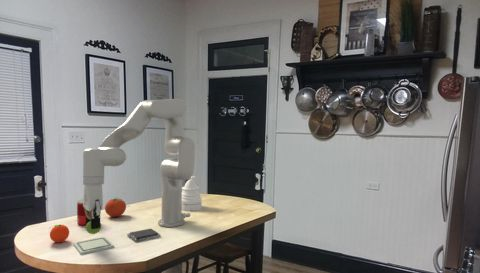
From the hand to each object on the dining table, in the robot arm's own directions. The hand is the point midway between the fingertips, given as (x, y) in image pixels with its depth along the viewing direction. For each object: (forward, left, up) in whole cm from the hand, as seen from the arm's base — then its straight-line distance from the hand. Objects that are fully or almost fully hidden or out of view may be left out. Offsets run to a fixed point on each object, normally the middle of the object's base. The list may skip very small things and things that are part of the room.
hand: (93, 225), depth 127 cm
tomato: (-20, -36, -8) cm, 42 cm away
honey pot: (-60, -29, -8) cm, 67 cm away
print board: (0, 0, -8) cm, 8 cm away
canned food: (-5, -32, -8) cm, 33 cm away
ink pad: (-20, +1, -8) cm, 22 cm away
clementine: (+10, -13, -8) cm, 18 cm away
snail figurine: (0, 0, -3) cm, 3 cm away
